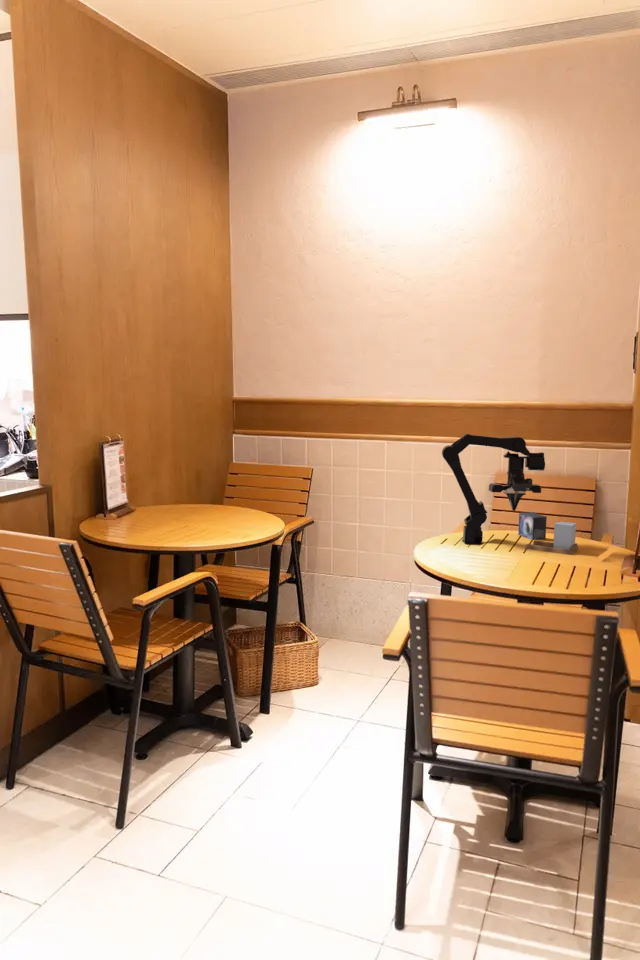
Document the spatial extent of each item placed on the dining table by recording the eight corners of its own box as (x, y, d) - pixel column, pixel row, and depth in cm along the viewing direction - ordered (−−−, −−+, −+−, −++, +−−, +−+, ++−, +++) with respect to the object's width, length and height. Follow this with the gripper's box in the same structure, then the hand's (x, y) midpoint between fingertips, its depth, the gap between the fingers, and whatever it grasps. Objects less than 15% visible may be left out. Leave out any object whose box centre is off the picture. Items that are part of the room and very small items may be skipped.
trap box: (525, 552, 281) (525, 541, 281) (534, 548, 290) (534, 537, 289) (569, 558, 272) (570, 547, 272) (577, 553, 281) (578, 543, 281)
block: (553, 551, 278) (554, 523, 276) (557, 548, 283) (559, 521, 281) (570, 553, 274) (571, 525, 273) (574, 550, 279) (576, 523, 278)
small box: (516, 538, 308) (518, 512, 307) (531, 537, 310) (532, 511, 309) (531, 543, 298) (533, 516, 297) (546, 543, 300) (547, 516, 299)
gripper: (497, 471, 284) (495, 513, 286) (547, 472, 285) (544, 514, 287) (489, 468, 295) (487, 509, 297) (537, 469, 296) (535, 509, 298)
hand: (513, 510), depth 294 cm, fingers closed
